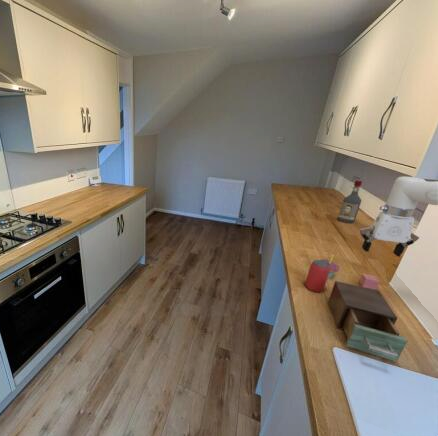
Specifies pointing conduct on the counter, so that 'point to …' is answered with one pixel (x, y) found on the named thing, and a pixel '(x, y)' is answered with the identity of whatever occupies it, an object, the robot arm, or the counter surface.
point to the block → (369, 281)
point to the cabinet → (357, 302)
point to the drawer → (373, 334)
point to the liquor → (350, 205)
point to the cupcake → (332, 266)
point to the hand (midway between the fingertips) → (380, 252)
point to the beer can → (317, 275)
